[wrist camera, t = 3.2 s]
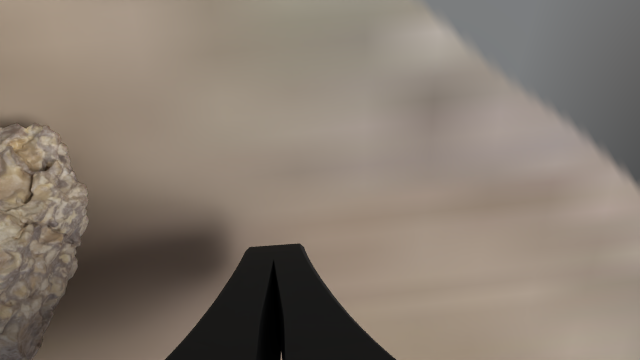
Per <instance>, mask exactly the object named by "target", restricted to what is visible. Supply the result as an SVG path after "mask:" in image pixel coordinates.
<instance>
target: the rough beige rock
mask: <svg viewBox="0 0 640 360" xmlns="http://www.w3.org/2000/svg"><path fill="white" fill-rule="evenodd" d="M59 142H61V138H60V135H59V134H58V133H56V132H54V131H53V130H51V129H50V128H49V126H46V125H45V126H40V125H38V124H36V123H34V124H32V125H30V126H29V127H27V128H24V127H22V126H20V125H19V124H18V123H16V124H12V125H9V126H7V127H4V128H1V127H0V360H31V358H32V357H34V356H35V354H36V353H37V352H38V350H39V348H40V347H41V344H42V341H43V334H44V333H45V331H46V329H47V328H48V326H49V323H50V321H51V319H52V317H53V315H54V313H53V312H52V311H53V310H54V309H55V307H56V306H57V305H58V303H59V301H60V299H61V297H62V296H63V295H64V294H65V292H66V290H65V289H66V287H67V284H68V280H69V279H71V278H72V277H73V276H74V273H75V272H76V270H77V268H78V264H77V261H78V260H77V258H76V257H75V255H76V247H78V246H80V245H81V235H82V234H83V233H84V231H85V230H86V228H87V225H88V222H89V219H88V216H87V215H86V212H87V209H86V208H85V207H86V206H87V205H88V203H89V201H88V198H87V195H88V191H87V187H86V186H85V185H84V184H83V183H79V182H78V181H77V179H76V175H75V173H74V171H73V170H71V169H72V167H71V166H70V161H71V159H70V157H69V156H68V155H67V153H68V148H67V146H66V145H65V144H64V143H59Z"/></svg>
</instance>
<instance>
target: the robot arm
mask: <svg viewBox="0 0 640 360" xmlns="http://www.w3.org/2000/svg"><path fill="white" fill-rule="evenodd" d="M281 353H282V360H396V359H395V358H393V357H392V356H391V355H390V354H389V353H388V352H387V351H385V350H384V349H383V348H382V347H381V346H380V345H379V344H378V343H376V342H375V341H374V340H373V339H372V338H371V337H370V336H369V335H368V334H367V333H366V332H365V331H364V330H363V329H362V328H361V327H360V326H359V325H358V324H357V323H356V322H355V321H354V319H353V318H352V317H351V316H350V315H349V314H348V313H347V312H346V310H345V309H344V308H343V307H342V306H341V304H340V303H339V302H338V301H337V300H336V298H335V297H334V296H333V294H332V293H331V292H330V290H329V289H328V288H327V286H326V285H325V283H324V282H323V281H322V279H321V278H320V276H319V275H318V273H317V272H316V270H315V268H314V267H313V265H312V263H311V262H310V260H309V258H308V256H307V254H306V252H305V249H304V247H303V246H302V245H301V244H286V245H273V246H259V247H249V248H248V250H247V251H246V252H245V254H244V256H243V257H242V259H241V261H240V263H239V265H238V266H237V268H236V270H235V271H234V273H233V275H232V276H231V278H230V279H229V281H228V282H227V284H226V285H225V287H224V288H223V290H222V291H221V293H220V294H219V296H218V297H217V299H216V300H215V301H214V303H213V304H212V305H211V307H210V308H209V309H208V311H207V312H206V313H205V314H204V316H203V317H202V318H201V319H200V321H199V322H198V323H197V325H196V326H195V327H194V328H193V329H192V331H191V332H190V333H189V334H188V335H187V336H186V338H185V339H184V340H183V341H182V342H181V343H180V344H179V345H178V346H177V347H176V349H175V350H174V351H173V352H172V353H171V354H170V355H169V356H168V357H167V358H166V359H165V360H280V359H281Z"/></svg>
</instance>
